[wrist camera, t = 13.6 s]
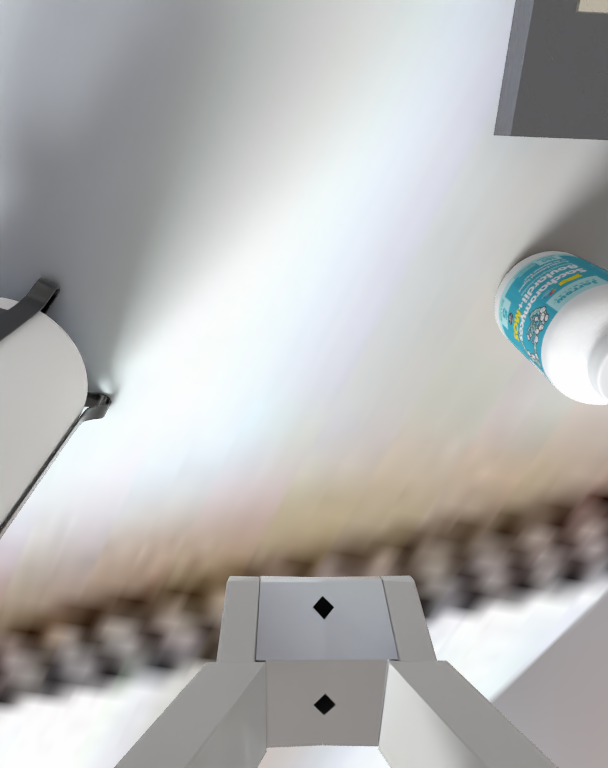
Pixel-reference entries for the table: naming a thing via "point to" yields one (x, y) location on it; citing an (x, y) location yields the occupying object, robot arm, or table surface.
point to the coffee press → (37, 395)
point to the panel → (556, 71)
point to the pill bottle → (559, 321)
